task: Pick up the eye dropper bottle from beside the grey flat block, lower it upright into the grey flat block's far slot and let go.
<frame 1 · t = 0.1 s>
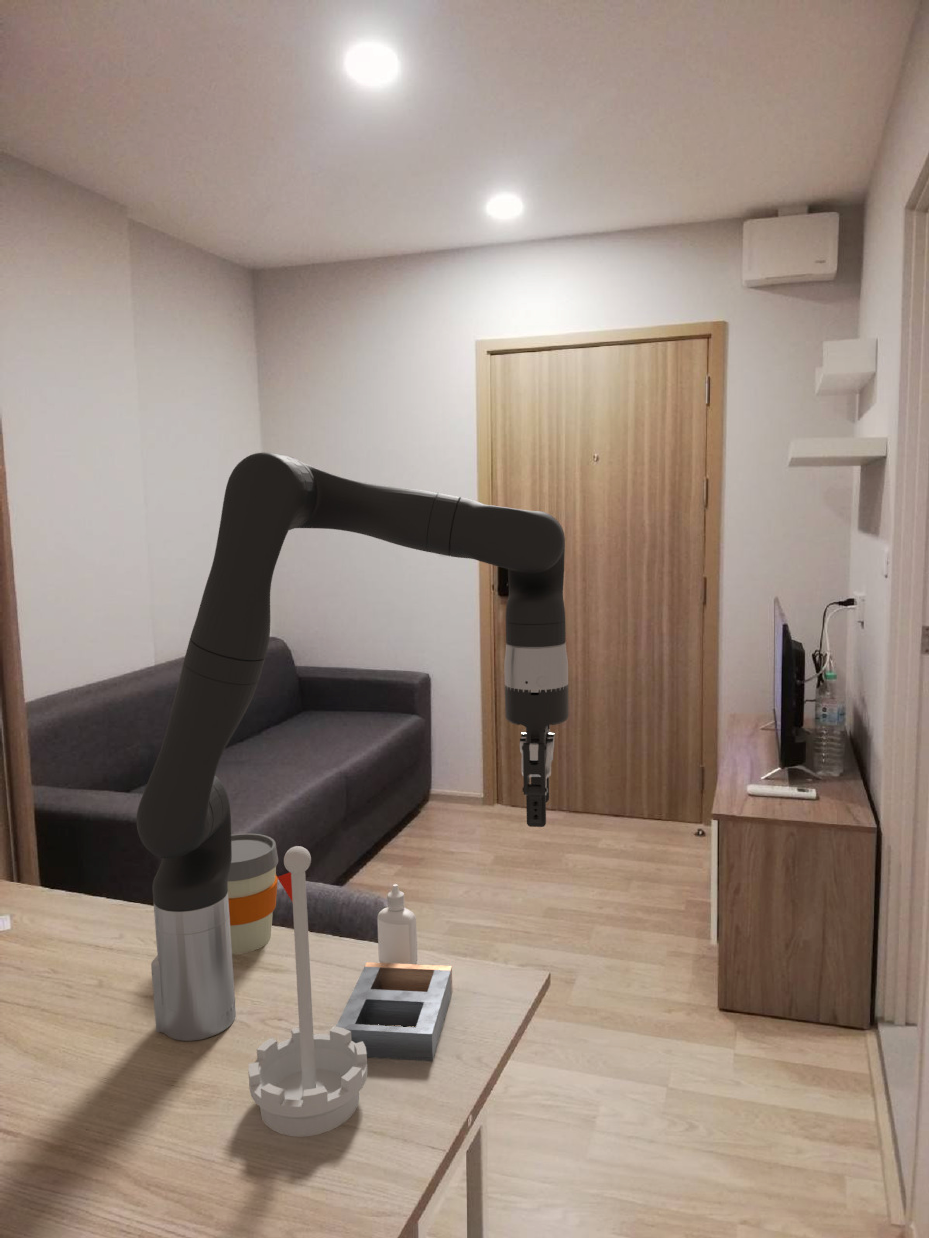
hand: (538, 813, 107), 29 cm above the table, tool pointing down, fingers open, 8 cm apart
eye dropper bottle: (398, 964, 131), on the table
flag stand: (310, 1103, 100), on the table
reusable coffee cup: (241, 941, 139), on the table
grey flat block: (397, 1020, 116), on the table
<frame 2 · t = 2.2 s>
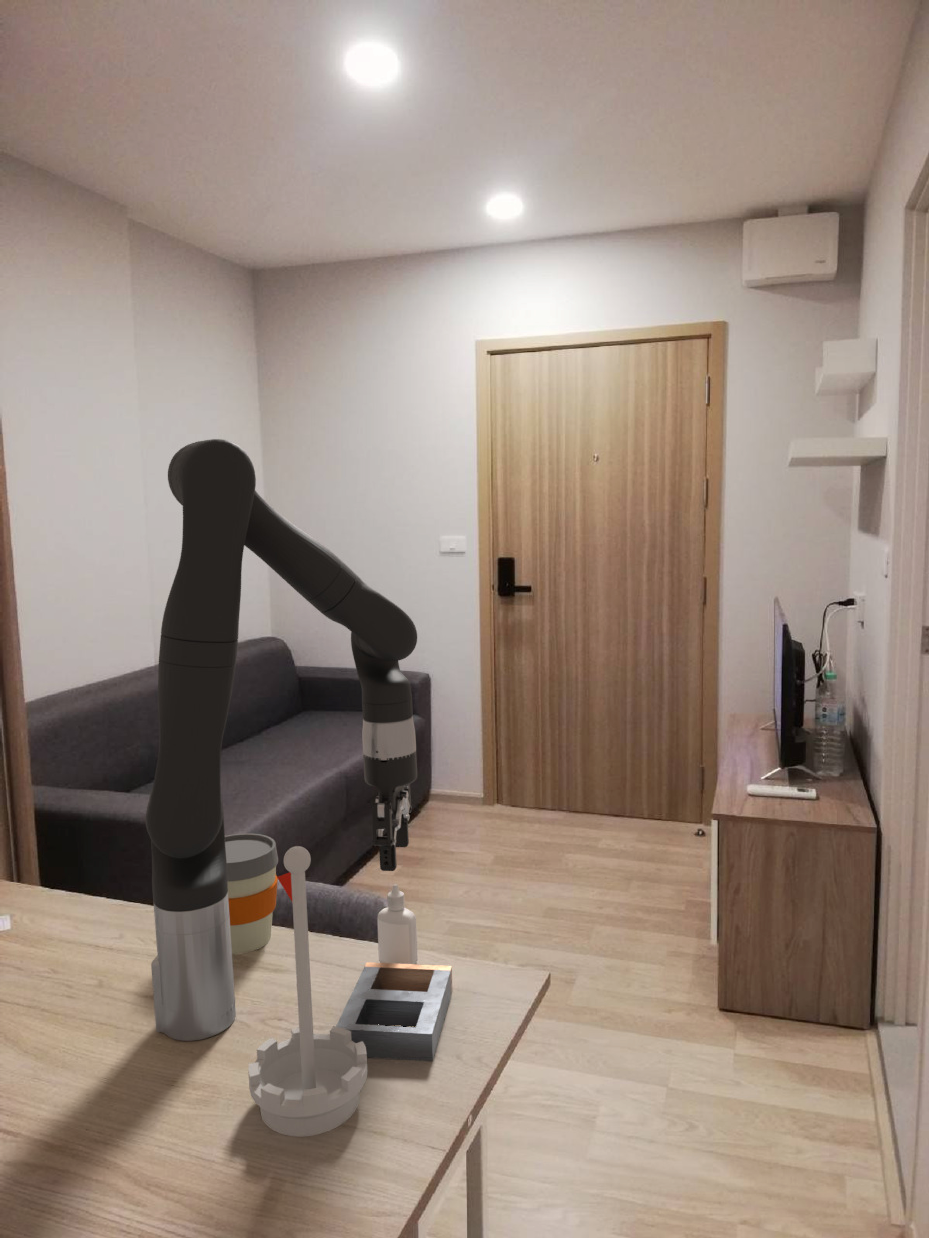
hand: (395, 857, 128), 16 cm above the table, tool pointing down, fingers open, 8 cm apart
nothing on the table moved.
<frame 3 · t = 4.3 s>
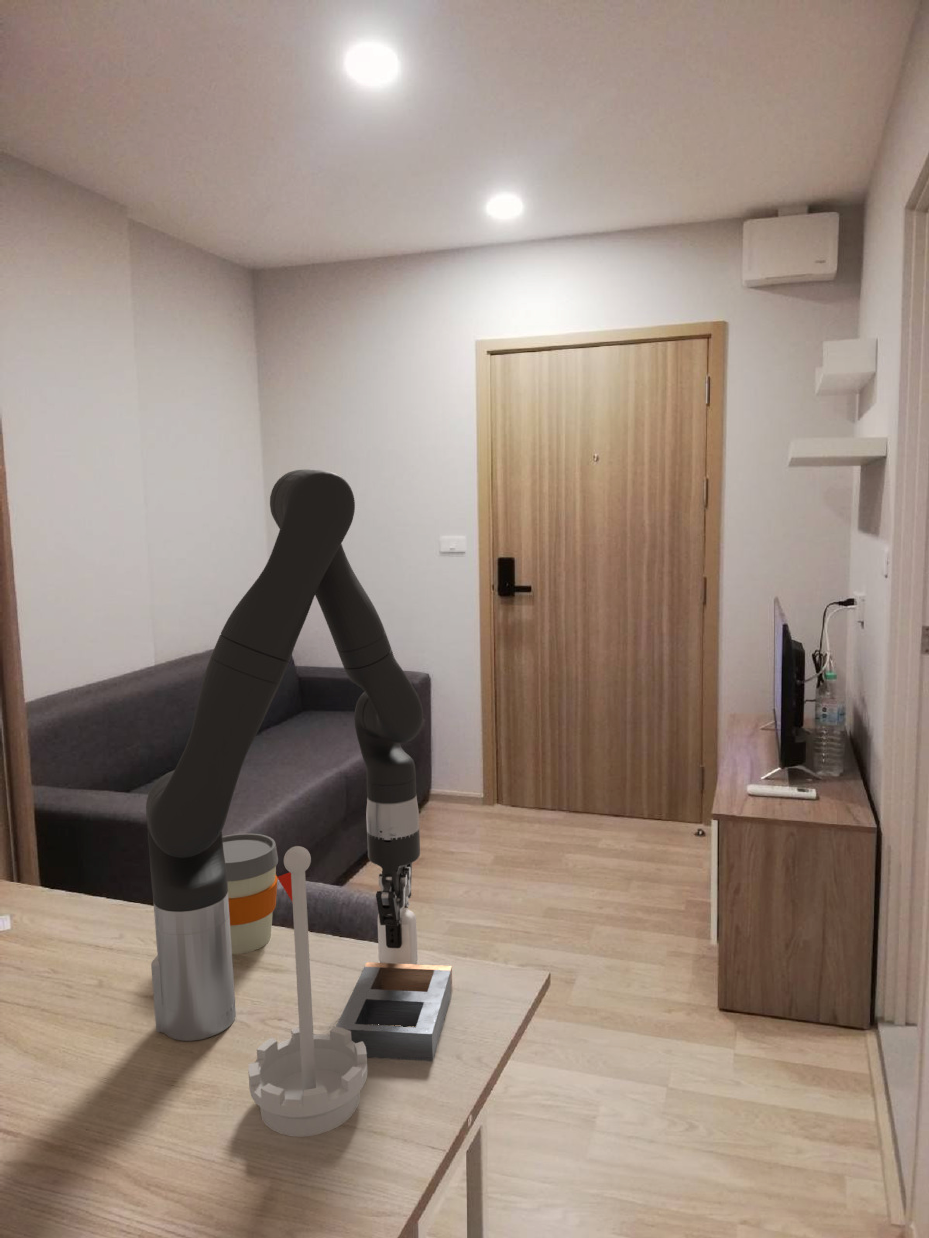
hand: (397, 939, 130), 4 cm above the table, tool pointing down, fingers closed on eye dropper bottle, 3 cm apart
eye dropper bottle: (398, 964, 131), on the table, touching gripper
everything else where it was.
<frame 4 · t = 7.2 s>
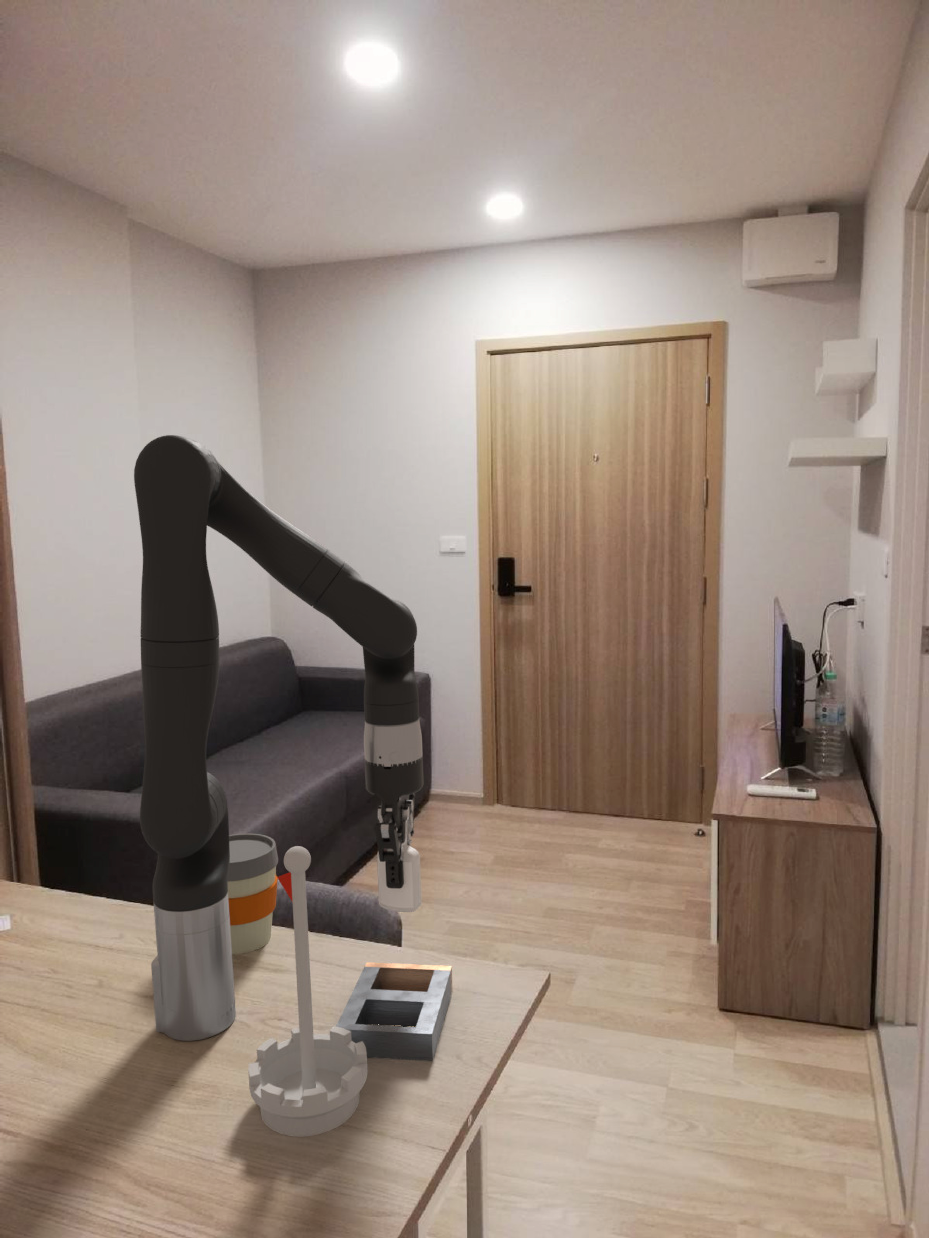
hand: (398, 879, 118), 17 cm above the table, tool pointing down, fingers closed on eye dropper bottle, 3 cm apart
eye dropper bottle: (400, 907, 118), point 14 cm above the table, touching gripper
everything else where it was.
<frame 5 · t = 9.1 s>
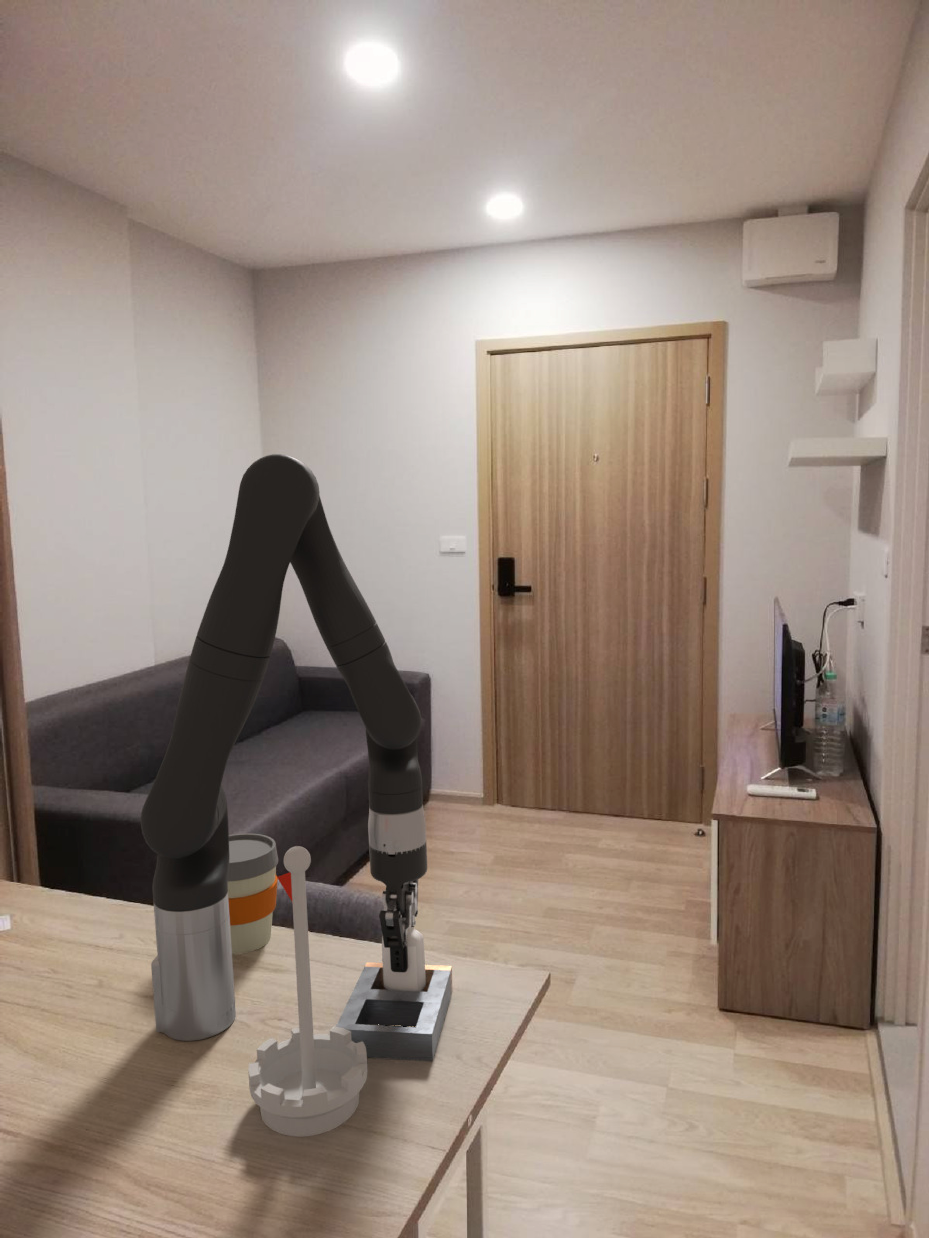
hand: (402, 961, 119), 6 cm above the table, tool pointing down, fingers closed on eye dropper bottle, 3 cm apart
eye dropper bottle: (404, 989, 120), point 2 cm above the table, touching gripper
everything else where it was.
when the fingers open (5 cm above the table, at t = 10.3 s): eye dropper bottle drops 1 cm, resting in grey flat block.
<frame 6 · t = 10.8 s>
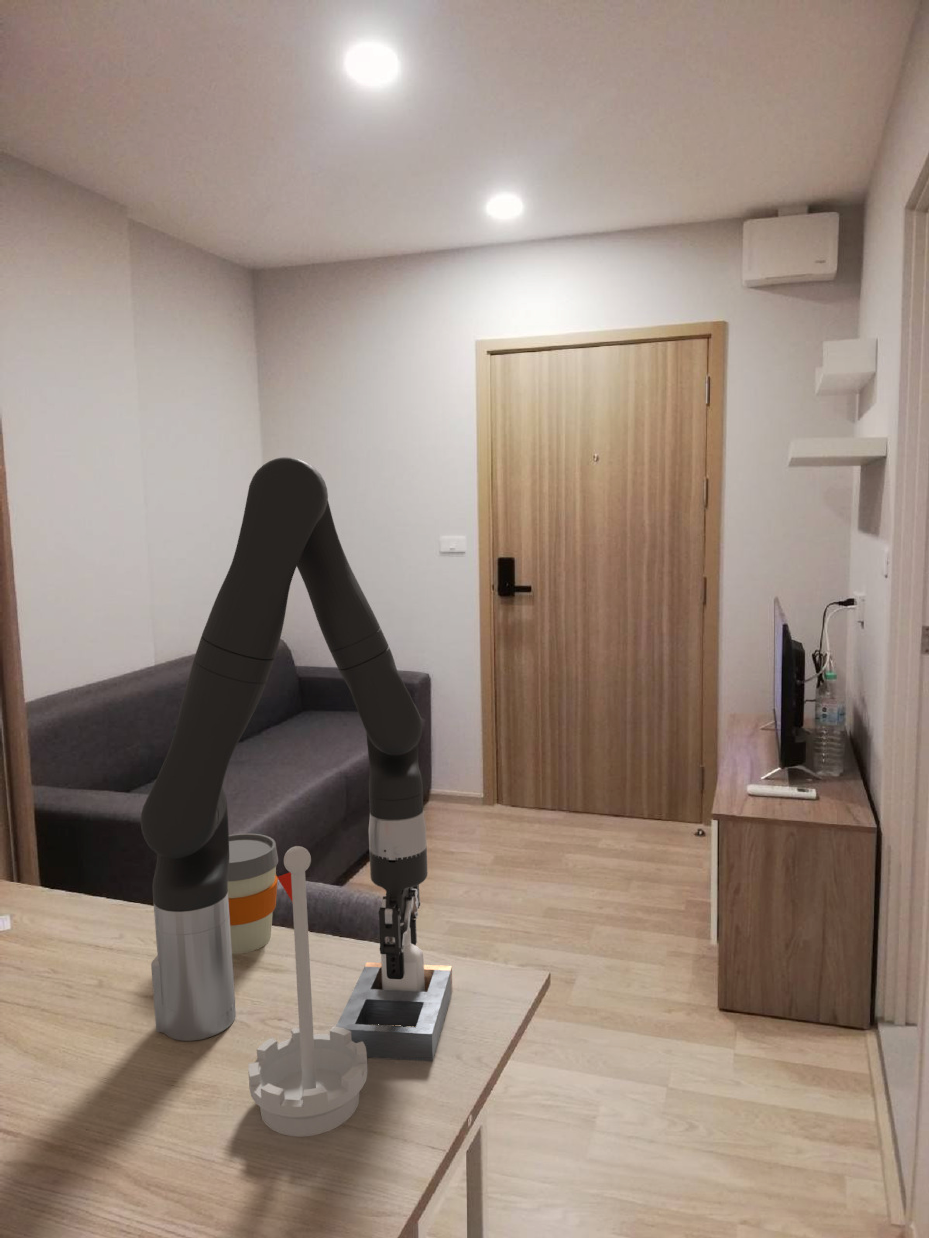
hand: (402, 961, 119), 6 cm above the table, tool pointing down, fingers open, 8 cm apart
eye dropper bottle: (404, 1005, 120), resting in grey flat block
everything else where it was.
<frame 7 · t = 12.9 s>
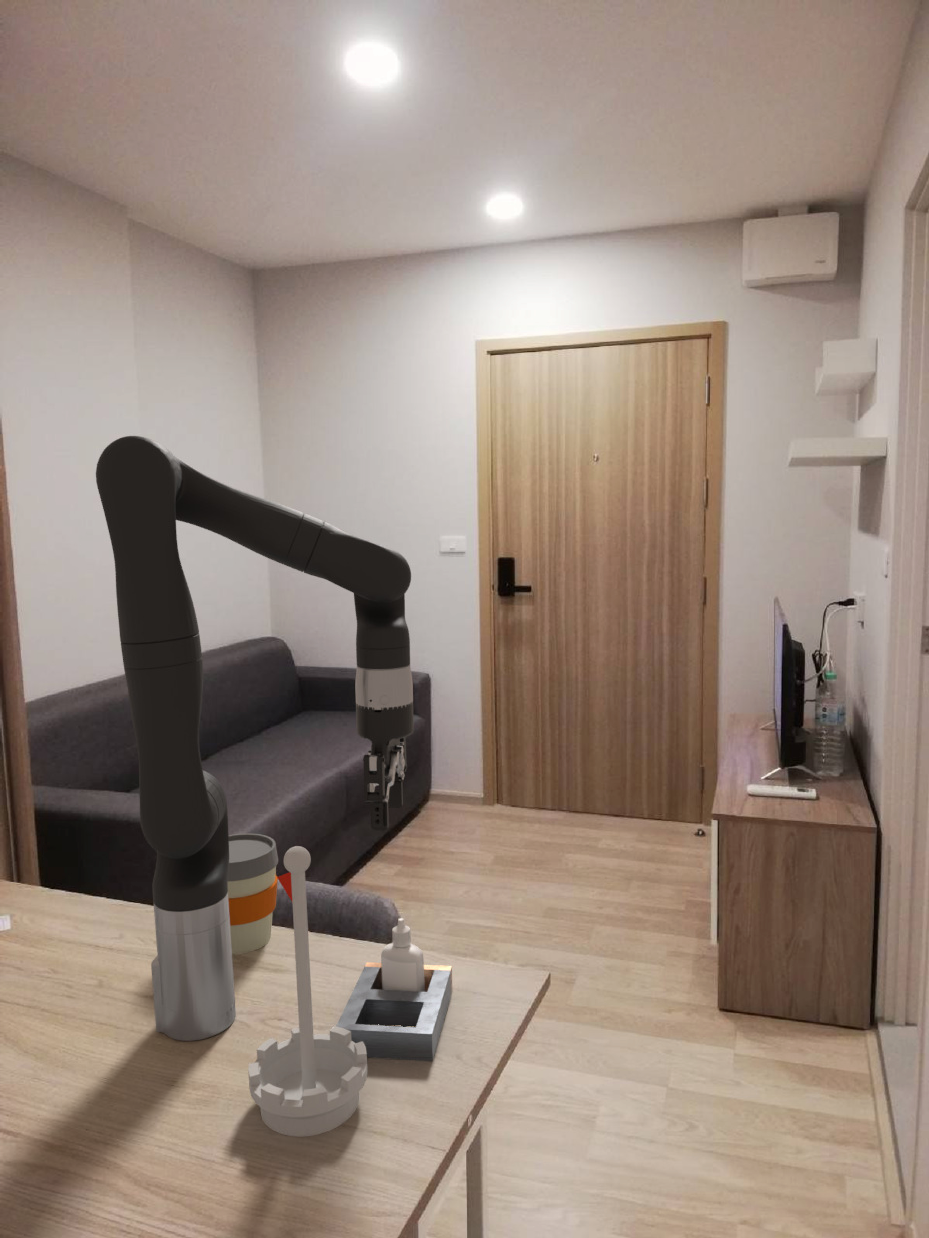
hand: (387, 817, 119), 25 cm above the table, tool pointing down, fingers open, 8 cm apart
nothing on the table moved.
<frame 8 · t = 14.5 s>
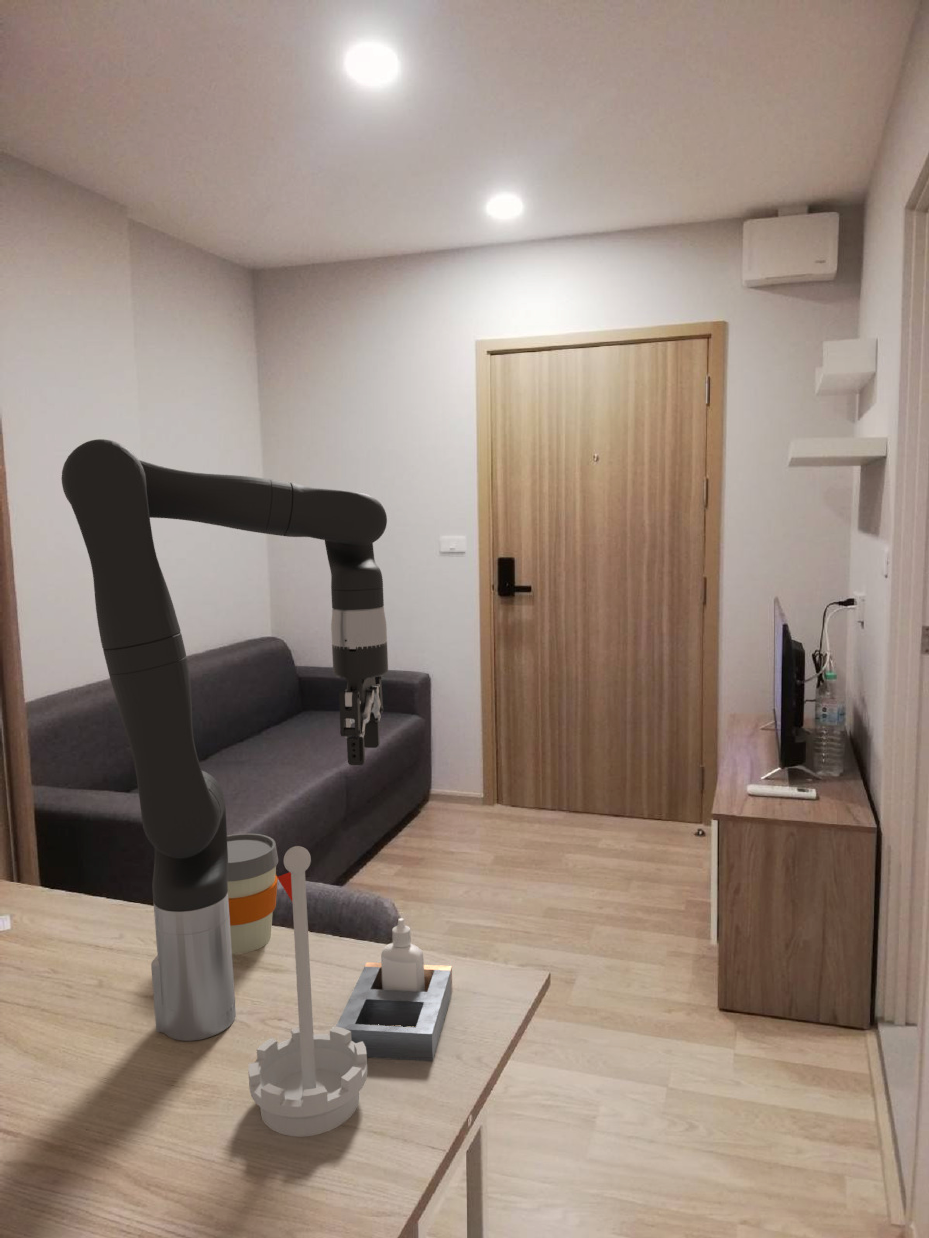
hand: (364, 755, 124), 32 cm above the table, tool pointing down, fingers open, 8 cm apart
nothing on the table moved.
at the end: eye dropper bottle 0.0 cm from the target spot on the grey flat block, point 0.0 cm above the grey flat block's base; eye dropper bottle tilted 0°; the gripper is holding nothing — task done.
